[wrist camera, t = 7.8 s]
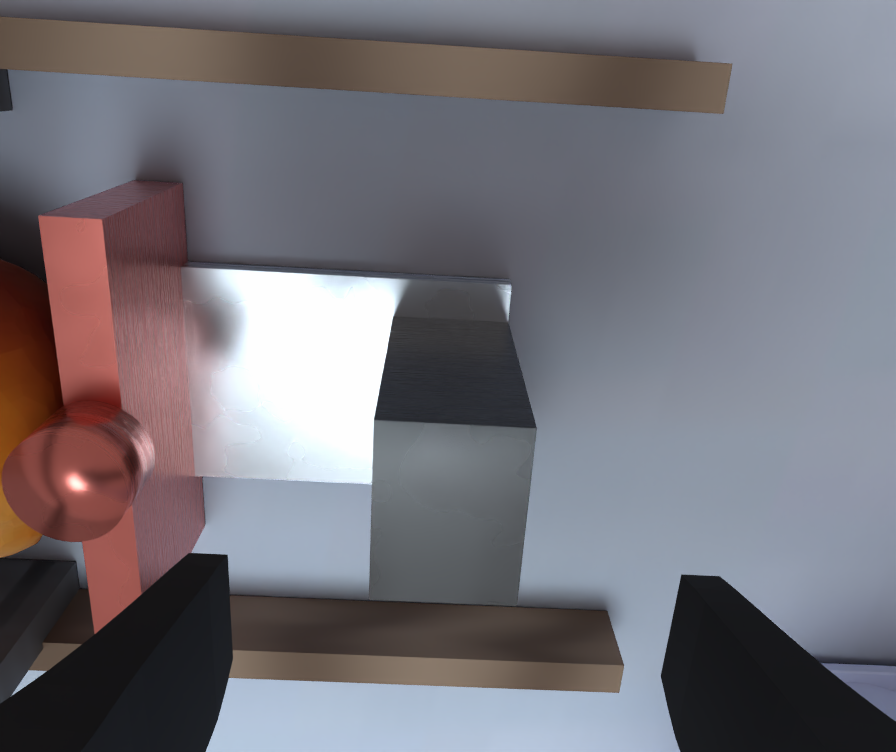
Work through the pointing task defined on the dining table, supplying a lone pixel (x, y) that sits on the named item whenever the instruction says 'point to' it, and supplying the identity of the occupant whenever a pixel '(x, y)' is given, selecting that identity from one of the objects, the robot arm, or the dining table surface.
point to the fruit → (24, 380)
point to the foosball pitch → (324, 620)
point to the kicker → (271, 404)
